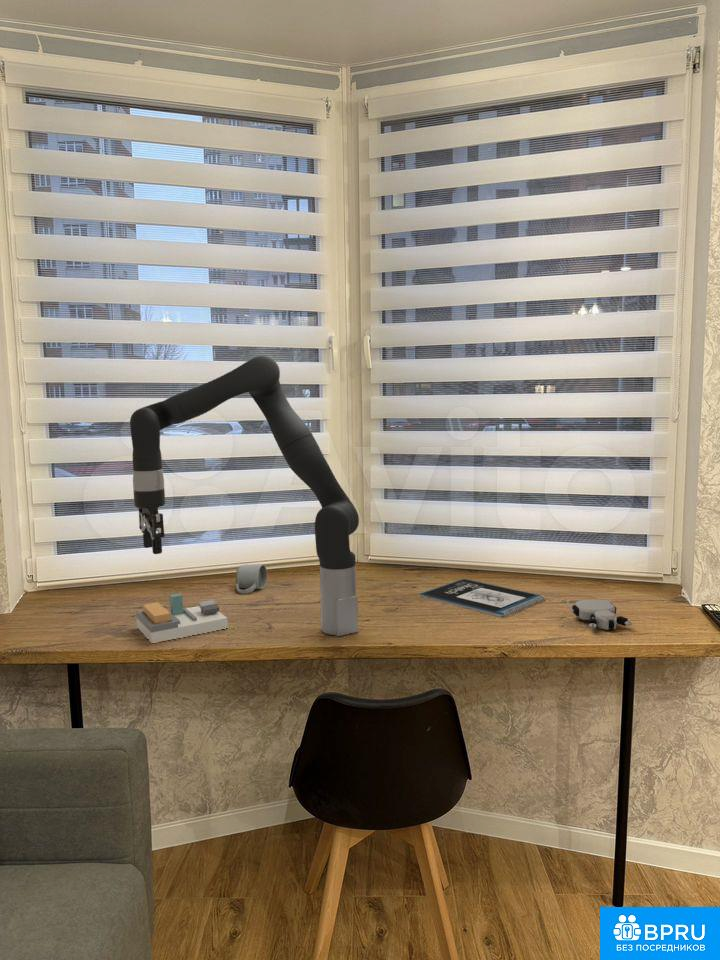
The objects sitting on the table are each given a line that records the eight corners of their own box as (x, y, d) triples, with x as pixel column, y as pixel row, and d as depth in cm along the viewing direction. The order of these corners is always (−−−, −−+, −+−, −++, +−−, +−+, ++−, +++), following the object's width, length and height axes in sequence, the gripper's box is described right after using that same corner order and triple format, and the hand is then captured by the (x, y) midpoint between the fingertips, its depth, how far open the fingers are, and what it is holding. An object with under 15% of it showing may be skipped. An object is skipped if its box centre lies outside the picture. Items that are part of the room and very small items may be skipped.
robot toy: (635, 635, 185) (608, 612, 199) (636, 618, 184) (609, 596, 198) (588, 638, 183) (565, 614, 198) (589, 621, 182) (566, 598, 197)
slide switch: (183, 613, 196) (182, 595, 195) (173, 615, 194) (172, 597, 193) (181, 611, 197) (180, 593, 197) (170, 613, 196) (169, 595, 195)
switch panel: (227, 628, 192) (227, 612, 191) (151, 644, 182) (150, 626, 181) (209, 614, 204) (208, 598, 203) (137, 628, 194) (136, 611, 193)
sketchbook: (463, 582, 232) (463, 576, 232) (546, 602, 211) (547, 595, 211) (419, 597, 217) (419, 590, 217) (504, 620, 196) (504, 612, 196)
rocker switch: (219, 614, 195) (219, 607, 195) (204, 617, 193) (204, 610, 193) (212, 606, 199) (213, 599, 199) (198, 608, 197) (198, 602, 197)
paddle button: (170, 620, 185) (170, 613, 185) (154, 623, 183) (154, 616, 183) (158, 609, 194) (158, 602, 194) (143, 612, 192) (142, 604, 192)
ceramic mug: (244, 583, 233) (243, 560, 232) (268, 585, 231) (267, 561, 230) (230, 594, 223) (229, 569, 222) (255, 595, 221) (254, 571, 220)
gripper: (172, 489, 180) (175, 553, 182) (155, 482, 192) (159, 543, 194) (141, 492, 176) (145, 558, 178) (126, 485, 188) (130, 547, 190)
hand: (152, 550), depth 186 cm, fingers open, 8 cm apart
